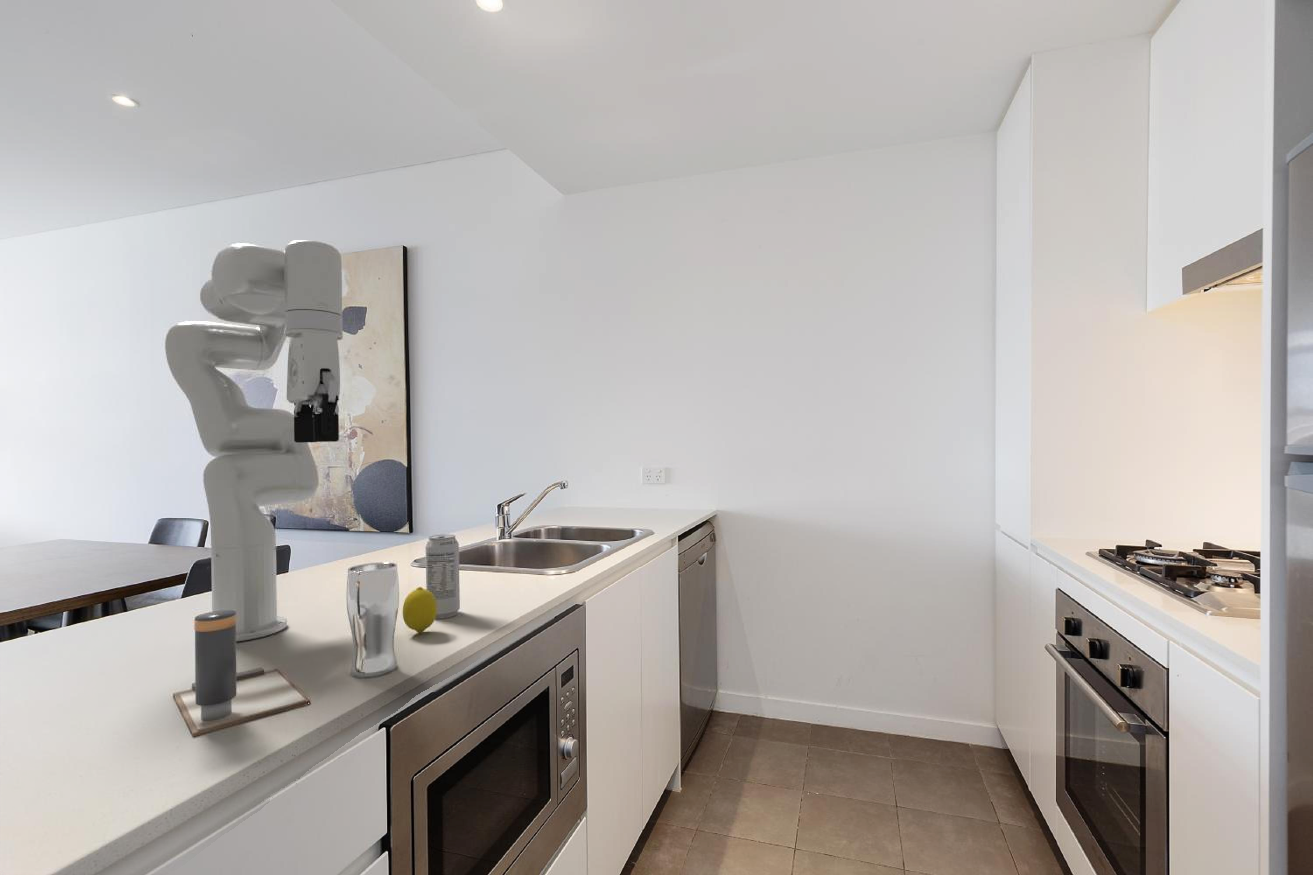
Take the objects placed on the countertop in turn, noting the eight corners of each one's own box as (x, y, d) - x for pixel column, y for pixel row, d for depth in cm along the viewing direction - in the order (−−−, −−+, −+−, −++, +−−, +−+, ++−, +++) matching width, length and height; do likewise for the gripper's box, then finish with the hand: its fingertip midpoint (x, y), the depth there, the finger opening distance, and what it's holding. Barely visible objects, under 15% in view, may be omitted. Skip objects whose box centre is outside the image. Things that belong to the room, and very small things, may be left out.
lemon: (442, 628, 108) (442, 583, 109) (427, 638, 103) (427, 591, 103) (412, 628, 109) (412, 583, 109) (396, 638, 104) (395, 590, 104)
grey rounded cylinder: (192, 715, 73) (191, 615, 74) (233, 704, 76) (232, 608, 76) (198, 726, 70) (197, 621, 71) (240, 714, 73) (239, 614, 74)
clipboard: (172, 696, 81) (172, 687, 81) (277, 671, 89) (277, 662, 89) (192, 736, 69) (192, 725, 69) (310, 703, 78) (310, 693, 78)
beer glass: (366, 682, 84) (364, 573, 84) (337, 673, 88) (335, 568, 88) (410, 666, 90) (408, 564, 90) (381, 658, 94) (380, 560, 94)
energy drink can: (463, 610, 120) (462, 533, 120) (454, 618, 114) (452, 538, 114) (433, 610, 120) (431, 534, 120) (421, 619, 114) (420, 539, 114)
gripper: (270, 332, 95) (272, 443, 95) (303, 315, 83) (304, 441, 83) (323, 337, 100) (325, 442, 100) (361, 321, 88) (363, 441, 88)
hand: (315, 441), depth 91 cm, fingers open, 9 cm apart
